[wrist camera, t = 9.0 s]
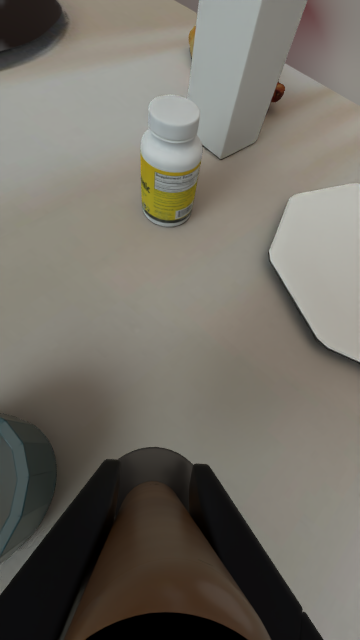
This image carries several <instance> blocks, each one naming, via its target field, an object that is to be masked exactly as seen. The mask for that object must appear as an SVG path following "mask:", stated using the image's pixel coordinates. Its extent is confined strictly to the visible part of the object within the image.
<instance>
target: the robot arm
mask: <svg viewBox="0 0 360 640" xmlns="http://www.w3.org/2000/svg"><path fill="white" fill-rule="evenodd" d="M120 468H121V462H120V460H116V459H106V460H104V461H103V463H102V464H101V465H100V467H99V468H98V469H97V470H96V472H95V473H94V474H93V476H92V477H91V478H90V480H89V481H88V482H87V483H86V485H85V486H84V487H83V489H82V490H81V491H80V492H79V494H78V495H77V496H76V498H75V499H74V500H73V502H72V503H71V504H70V505H69V507H68V508H67V509H66V511H65V512H64V513H63V514H62V516H61V517H60V518H59V520H58V521H57V522H56V524H55V525H54V526H53V527H52V529H51V530H50V531H49V533H48V534H47V535H46V536H45V538H44V539H43V540H42V542H41V543H40V544H39V546H38V547H37V548H36V549H35V551H34V552H33V553H32V555H31V556H30V557H29V559H28V560H27V561H26V562H25V564H24V565H23V566H22V568H21V569H20V570H19V571H18V573H17V574H16V575H15V577H14V578H13V579H12V581H11V582H10V583H9V584H8V586H7V587H6V588H5V590H4V591H3V592H2V593H1V595H0V640H64V638H65V635H66V633H67V631H68V628H69V626H70V624H71V621H72V619H73V617H74V614H75V612H76V610H77V607H78V605H79V603H80V600H81V598H82V596H83V593H84V591H85V589H86V586H87V584H88V582H89V579H90V577H91V575H92V572H93V570H94V568H95V565H96V563H97V561H98V558H99V556H100V554H101V551H102V549H103V547H104V544H105V542H106V540H107V537H108V535H109V533H110V530H111V528H112V526H113V523H114V519H115V512H116V505H117V499H118V492H119V484H120ZM189 514H190V516H191V517H192V519H193V520H194V522H195V523H196V525H197V526H198V527H199V529H200V530H201V532H202V533H203V535H204V536H205V538H206V539H207V541H208V542H209V544H210V545H211V547H212V548H213V550H214V551H215V553H216V554H217V556H218V557H219V558H220V560H221V561H222V563H223V564H224V566H225V567H226V569H227V570H228V572H229V573H230V575H231V576H232V578H233V579H234V581H235V582H236V584H237V585H238V586H239V588H240V589H241V591H242V592H243V594H244V595H245V597H246V598H247V600H248V601H249V603H250V604H251V606H252V607H253V609H254V610H255V612H256V613H257V615H258V616H259V618H260V619H261V621H262V623H263V625H264V627H265V629H266V631H267V632H268V634H269V636H270V638H271V640H323V638H322V637H321V635H320V634H319V632H318V631H317V629H316V628H315V626H314V625H313V623H312V622H311V620H310V618H309V617H308V615H307V614H306V613H305V612H303V613H302V606H301V605H300V603H299V602H298V600H297V599H296V597H295V596H294V594H293V593H292V591H291V590H290V588H289V587H288V585H287V584H286V582H285V581H284V579H283V578H282V576H281V575H280V573H279V571H278V570H277V568H276V567H275V565H274V564H273V562H272V561H271V559H270V558H269V556H268V555H267V553H266V552H265V550H264V549H263V547H262V546H261V544H260V543H259V541H258V539H257V538H256V536H255V535H254V533H253V532H252V530H251V529H250V527H249V526H248V524H247V523H246V521H245V520H244V518H243V517H242V515H241V514H240V512H239V511H238V509H237V507H236V506H235V504H234V503H233V501H232V500H231V498H230V497H229V495H228V494H227V492H226V491H225V489H224V488H223V486H222V485H221V483H220V482H219V480H218V479H217V477H216V476H215V474H214V472H213V471H212V469H211V468H210V466H209V465H207V464H194V465H193V467H192V473H191V479H190V484H189Z"/></svg>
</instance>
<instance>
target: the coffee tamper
mask: <svg viewBox="0 0 360 640" xmlns="http://www.w3.org/2000/svg"><path fill="white" fill-rule="evenodd" d="M118 460H120V462H121V468H120V484H119V492H118V499H117V505H116V512H115V519H114V523H113V526H112V528H111V530H110V533H109V535H108V537H107V540H106V542H105V544H104V547H103V549H102V551H101V554H100V556H99V558H98V561H97V563H96V565H95V568H94V570H93V572H92V575H91V577H90V579H89V582H88V584H87V586H86V589H85V591H84V593H83V596H82V598H81V600H80V603H79V605H78V607H77V610H76V612H75V614H74V617H73V619H72V621H71V624H70V626H69V628H68V631H67V633H66V635H65V638H64V640H271V638H270V636H269V634H268V632H267V631H266V629H265V627H264V625H263V623H262V621H261V619H260V618H259V616H258V615H257V613H256V612H255V610H254V609H253V607H252V606H251V604H250V603H249V601H248V600H247V598H246V597H245V595H244V594H243V592H242V591H241V589H240V588H239V586H238V585H237V584H236V582H235V581H234V579H233V578H232V576H231V575H230V573H229V572H228V570H227V569H226V567H225V566H224V564H223V563H222V561H221V560H220V558H219V557H218V556H217V554H216V553H215V551H214V550H213V548H212V547H211V545H210V544H209V542H208V541H207V539H206V538H205V536H204V535H203V533H202V532H201V530H200V529H199V527H198V526H197V525H196V523H195V522H194V520H193V519H192V517H191V516H190V514H189V484H190V479H191V473H192V467H193V464H192V463H191V462H190V461H189V460H187V459H186V458H185V457H183V456H182V455H180V454H179V453H177V452H174V451H172V450H169V449H165V448H159V447H147V448H141V449H138V450H134V451H132V452H130V453H128V454H126V455H124V456H122V457H121V458H119V459H118Z"/></svg>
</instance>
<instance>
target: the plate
mask: <svg viewBox="0 0 360 640" xmlns="http://www.w3.org/2000/svg"><path fill="white" fill-rule="evenodd" d="M268 254H269V261H270V263H271V265H272V266H273V268H274V270H275V271H276V273H277V275H278V276H279V278H280V280H281V281H282V283H283V285H284V286H285V288H286V290H287V291H288V293H289V295H290V296H291V298H292V300H293V301H294V303H295V305H296V306H297V308H298V310H299V311H300V313H301V315H302V316H303V318H304V320H305V322H306V323H307V325H308V327H309V328H310V330H311V332H312V333H313V335H314V337H315V338H316V340H318V341H319V342H320V343H321V344H322V345H323V346H324V347H325V348H327V349H329V350H331V351H333V352H336V353H338V354H340V355H342V356H344V357H347V358H349V359H351V360H353V361H356V362H358V363H360V184H357V183H352V184H346V185H341V186H336V187H331V188H325V189H320V190H315V191H310V192H304V193H299V194H295V195H293V196H292V197H291V198H289V200H288V203H287V205H286V208H285V211H284V213H283V216H282V218H281V221H280V224H279V226H278V229H277V231H276V234H275V236H274V239H273V242H272V244H271V247H270V249H269V252H268Z"/></svg>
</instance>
